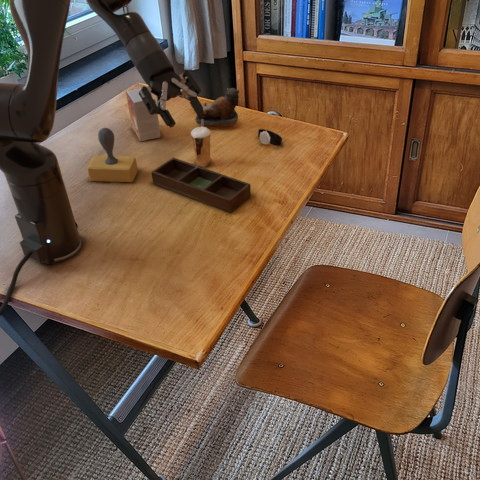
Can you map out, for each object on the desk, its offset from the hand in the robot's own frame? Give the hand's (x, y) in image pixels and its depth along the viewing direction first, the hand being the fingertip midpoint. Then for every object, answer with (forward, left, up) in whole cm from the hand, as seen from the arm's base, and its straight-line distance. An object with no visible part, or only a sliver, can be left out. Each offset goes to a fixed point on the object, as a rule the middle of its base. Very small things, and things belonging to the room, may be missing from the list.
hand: (187, 119), depth 136 cm
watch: (+16, -12, -10) cm, 23 cm away
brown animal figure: (+17, +5, -10) cm, 20 cm away
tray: (-11, -11, -10) cm, 18 cm away
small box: (+3, +18, -10) cm, 20 cm away
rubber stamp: (-17, +10, -10) cm, 22 cm away
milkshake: (-1, -4, -10) cm, 11 cm away
